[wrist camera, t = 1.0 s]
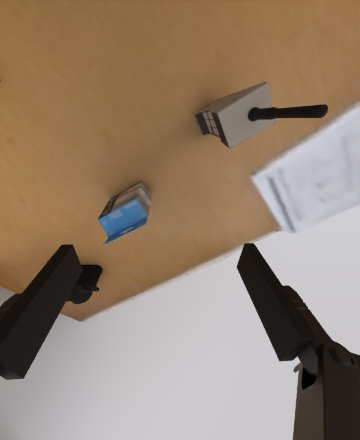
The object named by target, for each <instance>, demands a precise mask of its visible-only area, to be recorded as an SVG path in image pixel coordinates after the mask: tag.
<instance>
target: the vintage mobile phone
mask: <svg viewBox="0 0 360 440" xmlns="http://www.w3.org/2000/svg"><path fill="white" fill-rule="evenodd" d="M327 111H328V106H327V105H313V106H302V107H291V108H275V107H272V103H271V97H270V92H269V86H268V82H267V81H266V82H263V83H261V84H258V85H255V86H253V87H250V88H247V89H245V90H242V91H239V92H237V93H234V94H231V95H229V96H226V97H223V98H221V99H218V100H217V101H215V102H214V103H212V104H210V105H209V106H207V107H206V108H204V109H202V110H201V111H199V112H198V113H196V114H194V117H195V120H196V122H197V125H198V127H199V129H200V132H201V134H202V136H204V135H208V134H211V135H214V136H217V137H220V139H221V142H222V143H223V144H225V145H226V146H227V147H228V148H232V147H234V146H235V145H237V144H239V143H241V142H243V141H244V140H246V139H248V138H250V137H252V136H253V135H255V134H257V133H259V132H261V131H262V130H264V129H266V128H268V127H270V126H271V125H273V124H275V118H321V117H323V116H325V115H326V113H327Z"/></svg>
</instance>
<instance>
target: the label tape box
mask: <svg viewBox="0 0 360 440" xmlns="http://www.w3.org/2000/svg"><path fill="white" fill-rule="evenodd" d="M150 200H151V193H150V192H149V191H148V189H147V188H146V187H145V185H144V184H143V182H142V181H141V182H140V183H138V184H136V185H134V186H132V187H131V188H129V189H127V190H126V191H124V192H122V193H120V194H119V195H117V196H115V197H114V198H112V199H110V200H109V202H108V204H107V205H106V207H105V208H104V210H103V212H102V213H101V215H100V216H99V218H98V220H99V222H100V224H101V226H102V227H103V229H104V231H105V232H106V234H107V236H108V239H107V240H106V242H105V243H104V244H103V245H105V244H108V243H110V242H112V241H114V240H117V239H119V238H121V237H123V236H125V235H127V234H129V233H131V232H133V231H135V230H137V229H139V228H141V227H143V226H145V225H146V222H147V218H148V214H149V207H150ZM132 227H133V228H132ZM130 228H132V229H130ZM128 229H130V230H128ZM126 230H128V231H127V232H126V233H122V232H124V231H126ZM120 233H122V234H120Z"/></svg>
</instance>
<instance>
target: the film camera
mask: <svg viewBox="0 0 360 440" xmlns="http://www.w3.org/2000/svg"><path fill="white" fill-rule="evenodd" d="M81 266H82V269H83V271H82V273H81V274H80V276H79V278H78V280H77V282H76V284H75V285H74V287H73V289H72V291H71V293H70V295H69V296H68V298H67V300H66V302H67V301H71V302H72V303H74V304H81V303H84V302H86V301H87V300H88V299H89V298H90V296H91V295H92V292H93V291H96V290H97V291H99V288H98V287H96V285H97V282H98V280H99V277H100V275H101V273H102V268H101V267H100V266H98V265H81Z"/></svg>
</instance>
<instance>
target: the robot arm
mask: <svg viewBox="0 0 360 440" xmlns="http://www.w3.org/2000/svg"><path fill="white" fill-rule="evenodd" d="M237 269H238V271H239V273H240V275H241V278H242V280H243V282H244V284H245V286H246V289H247V291H248V293H249V295H250V297H251V300H252V302H253V304H254V306H255V308H256V311H257V313H258V315H259V317H260V319H261V322H262V324H263V326H264V328H265V330H266V333H267V335H268V337H269V339H270V341H271V343H272V346H273V348H274V350H275V352H276V354H277V357H278V359H279V361H291V360H294V359H295V358H296V357H297V356H298V358H299V360H300V361H301V362H300V363H299V364H298V365H297V366H296V367H295V368H294V372H297V371H298V370H299V375H298V386H297V398H296V409H295V421H294V433H293V440H360V355H357V354H354V353H351V352H349V351H348V350H347V349H346V348H345V347H343V346H342V345H341V344H339V343H337V342H334V341H333V340H332V339H331V338H330V337H329V336H328V334H327V333H326V332H325V330H324V329H323V328H322V326H321V325H320V323H319V322H318V321H317V319H316V318H315V317H314V315H313V314H312V313H311V311H310V310H309V309H308V307H307V306H306V304H305V303H304V302H303V300H302V299H301V298H300V296H299V295H298V293H297V292H296V291H294V290H293V289H292V288H291V287H290V286H282V284H281V283H280V282H279V280H278V279H277V277H276V276H275V274H274V273H273V271H272V270H271V268H270V267H269V265H268V264H267V262H266V261H265V259H264V258H263V256H262V255H261V253H260V252H259V250H258V249H257V247H256V246H255V245H254V243H245V244H244V247H243V250H242V253H241V256H240V259H239V262H238V265H237ZM82 271H83V269H82V266H81V264H80V261H79V259H78V256H77V254H76V251H75V249H74V246H73V245H61V246H60V248H59V249H58V250H57V251H56V252H55V254H54V255H53V256H52V257H51V259H50V260H49V261H48V262H47V263H46V265H45V266H44V267H43V268H42V270H41V271H40V272H39V273H38V274H37V276H36V277H35V278H34V279H33V281H32V282H31V283H30V284H29V286H28V287H27V288H26V289H25V290H24V292H23V293H22V294H14V295H13V296H12V297H11V298H9V299H8V300H7V301H5V302H4V303H3V304H2V305H1V307H0V376H1V377H3V378H5V379H7V380H8V379H23V378H24V377H25V375H26V373H27V371H28V370H29V368H30V366H31V364H32V362H33V360H34V359H35V357H36V355H37V353H38V351H39V349H40V348H41V346H42V344H43V342H44V340H45V338H46V337H47V335H48V333H49V331H50V329H51V328H52V326H53V324H54V322H55V320H56V318H57V317H58V315H59V313H60V311H61V309H62V307H63V306H64V304H65V302H66V300H67V298H68V296H69V295H70V293H71V291H72V289H73V287H74V285H75V284H76V282H77V280H78V278H79V276H80V274H81V273H82Z"/></svg>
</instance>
